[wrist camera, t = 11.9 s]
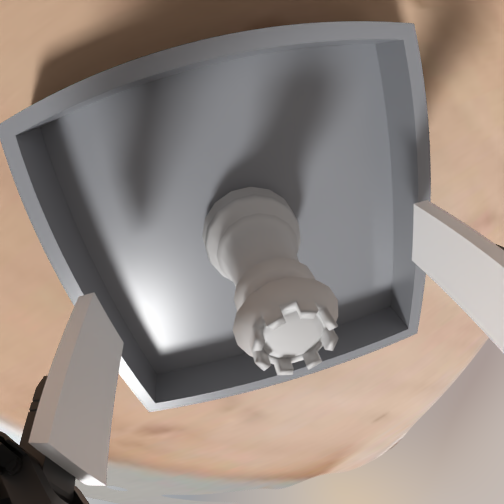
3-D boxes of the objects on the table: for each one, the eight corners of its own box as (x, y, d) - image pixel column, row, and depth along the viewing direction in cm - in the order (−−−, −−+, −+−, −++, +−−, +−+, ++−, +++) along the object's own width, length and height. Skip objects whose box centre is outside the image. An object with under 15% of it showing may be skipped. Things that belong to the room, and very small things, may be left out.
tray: (28, 117, 11) (-4, 126, 9) (379, 30, 12) (413, 23, 10) (150, 377, 20) (149, 412, 17) (395, 306, 21) (417, 333, 18)
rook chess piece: (308, 202, 15) (396, 296, 8) (271, 277, 17) (321, 398, 10) (221, 170, 14) (254, 255, 7) (189, 255, 16) (194, 385, 9)
